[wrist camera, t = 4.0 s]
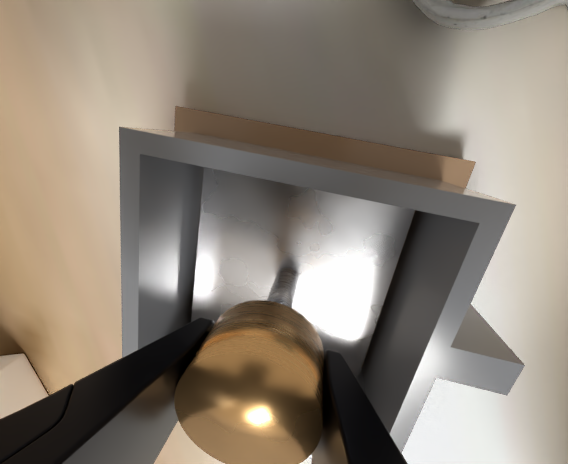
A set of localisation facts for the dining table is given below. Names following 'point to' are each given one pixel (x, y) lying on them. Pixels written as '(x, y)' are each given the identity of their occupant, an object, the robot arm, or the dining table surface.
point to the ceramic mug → (483, 12)
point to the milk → (18, 384)
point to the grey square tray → (339, 180)
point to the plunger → (280, 310)
